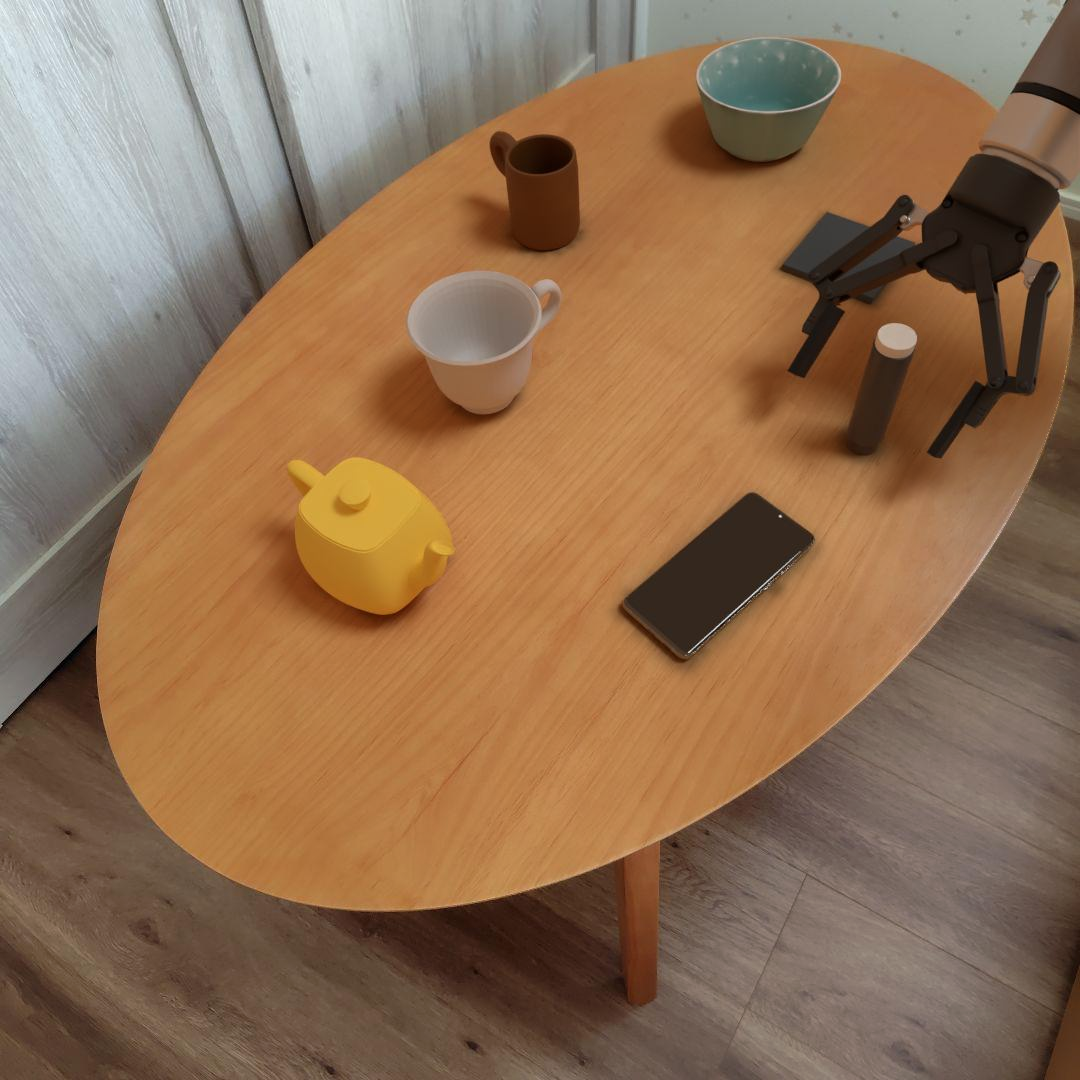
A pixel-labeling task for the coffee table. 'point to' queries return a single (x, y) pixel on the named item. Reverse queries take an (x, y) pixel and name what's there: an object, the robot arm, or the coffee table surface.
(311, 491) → the teapot
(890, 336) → the dark grey capped cylinder
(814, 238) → the pad
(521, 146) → the mug
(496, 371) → the teacup
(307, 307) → the coffee table surface
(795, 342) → the coffee table surface
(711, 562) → the smartphone
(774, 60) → the bowl
